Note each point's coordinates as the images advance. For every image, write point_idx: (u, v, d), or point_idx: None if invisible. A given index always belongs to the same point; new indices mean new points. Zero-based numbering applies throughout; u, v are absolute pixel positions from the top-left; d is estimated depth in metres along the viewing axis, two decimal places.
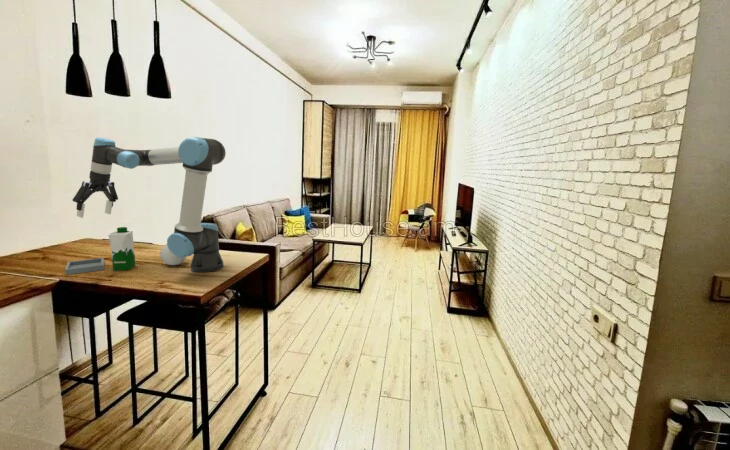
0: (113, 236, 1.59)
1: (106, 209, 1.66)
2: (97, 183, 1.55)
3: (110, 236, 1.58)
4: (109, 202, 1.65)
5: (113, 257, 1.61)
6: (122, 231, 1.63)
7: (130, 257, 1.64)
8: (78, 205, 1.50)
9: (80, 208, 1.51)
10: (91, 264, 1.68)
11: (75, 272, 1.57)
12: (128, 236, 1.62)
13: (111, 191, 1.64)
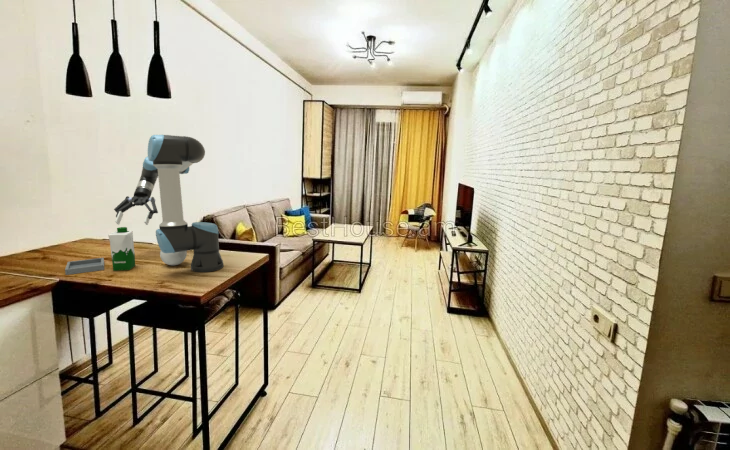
0: (113, 236, 1.59)
1: None
2: None
3: (110, 236, 1.58)
4: None
5: (113, 257, 1.61)
6: (122, 231, 1.63)
7: (130, 257, 1.64)
8: None
9: (117, 215, 1.73)
10: (91, 264, 1.68)
11: (75, 272, 1.57)
12: (128, 236, 1.62)
13: (152, 205, 1.79)
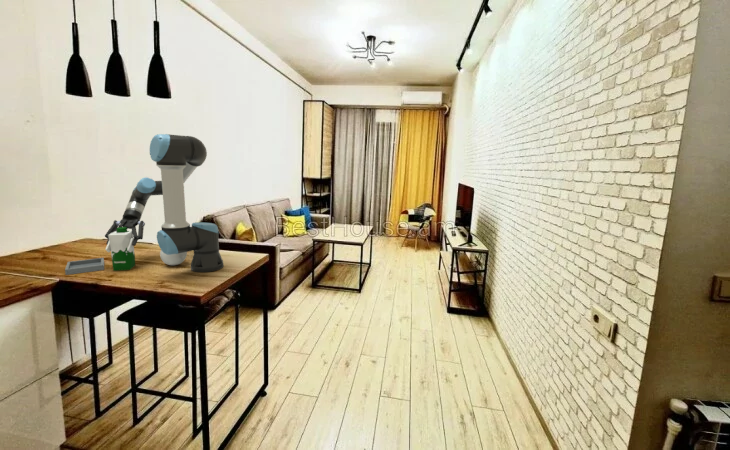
0: (113, 236, 1.59)
1: None
2: (125, 219, 1.70)
3: (110, 236, 1.58)
4: None
5: (113, 257, 1.61)
6: (122, 231, 1.63)
7: (130, 257, 1.64)
8: None
9: (108, 242, 1.62)
10: (91, 264, 1.68)
11: (75, 272, 1.57)
12: (128, 236, 1.62)
13: None
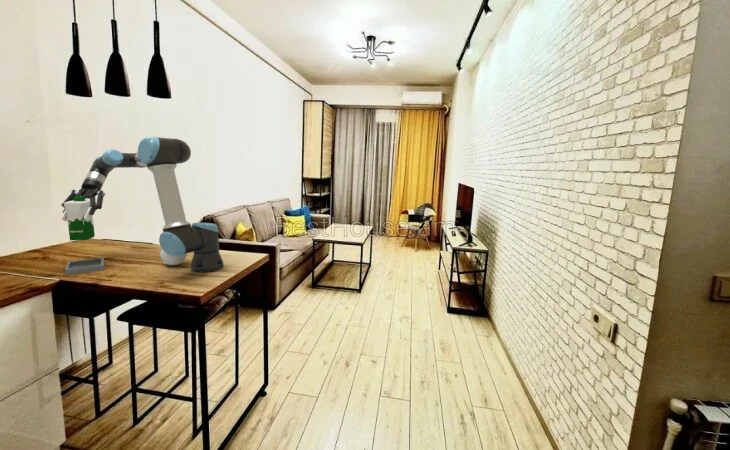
0: (68, 204, 1.54)
1: None
2: (84, 189, 1.65)
3: (65, 204, 1.54)
4: None
5: (69, 226, 1.56)
6: (79, 200, 1.58)
7: (87, 227, 1.59)
8: None
9: None
10: (91, 264, 1.68)
11: (75, 272, 1.57)
12: (85, 205, 1.57)
13: None
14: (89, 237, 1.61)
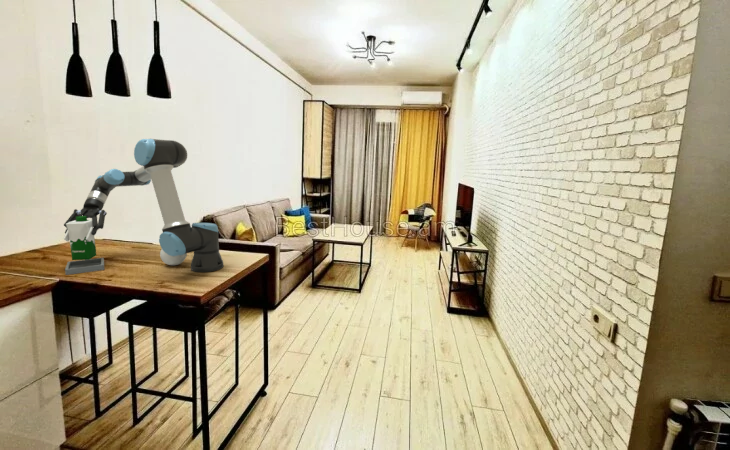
0: (71, 225, 1.56)
1: None
2: (86, 208, 1.67)
3: (68, 225, 1.56)
4: None
5: (71, 246, 1.58)
6: (81, 220, 1.60)
7: (89, 247, 1.61)
8: None
9: (66, 231, 1.60)
10: (91, 264, 1.68)
11: (75, 272, 1.57)
12: (87, 225, 1.59)
13: None
14: (91, 256, 1.63)
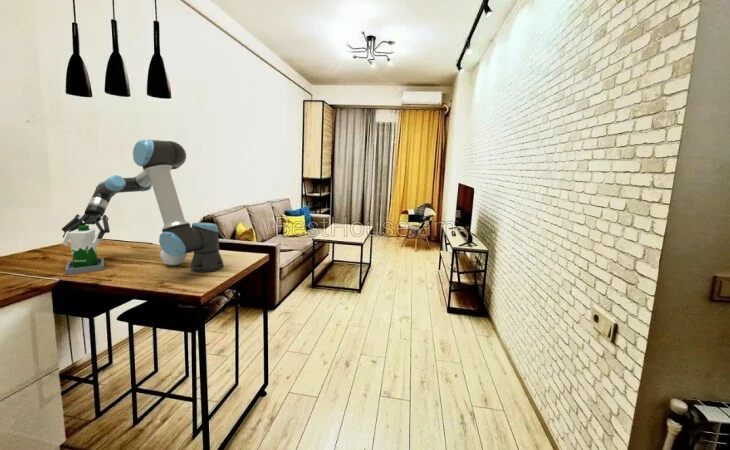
0: (73, 234, 1.57)
1: None
2: None
3: (70, 234, 1.57)
4: None
5: (73, 255, 1.59)
6: (83, 229, 1.61)
7: (91, 256, 1.62)
8: None
9: (64, 235, 1.60)
10: None
11: (75, 272, 1.57)
12: (89, 234, 1.60)
13: None
14: None
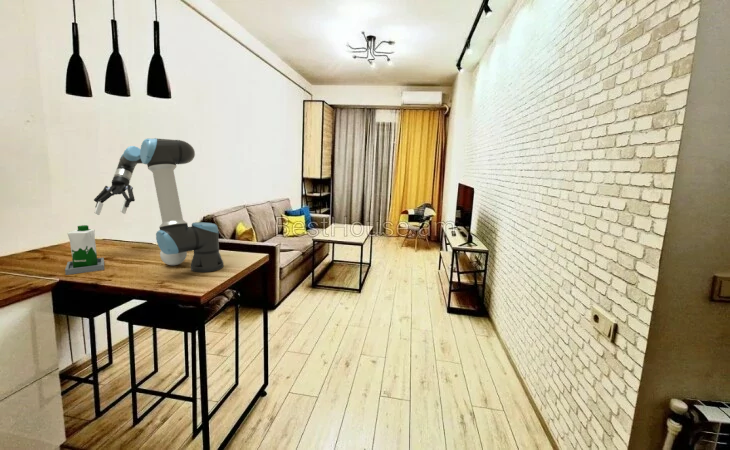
0: (72, 234, 1.57)
1: None
2: None
3: (69, 234, 1.57)
4: None
5: (73, 256, 1.59)
6: (83, 229, 1.61)
7: (90, 256, 1.62)
8: None
9: None
10: None
11: (75, 272, 1.57)
12: (88, 234, 1.60)
13: None
14: None
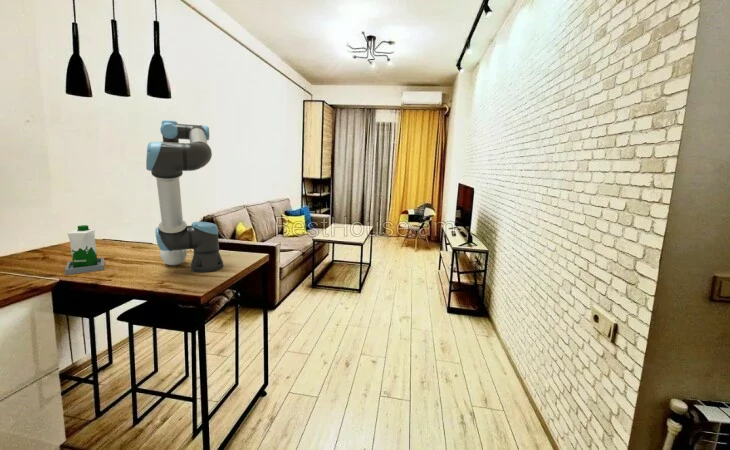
0: (72, 234, 1.57)
1: None
2: None
3: (69, 234, 1.57)
4: None
5: (73, 256, 1.59)
6: (83, 229, 1.61)
7: (90, 256, 1.62)
8: None
9: None
10: None
11: (75, 272, 1.57)
12: (88, 234, 1.60)
13: None
14: None
